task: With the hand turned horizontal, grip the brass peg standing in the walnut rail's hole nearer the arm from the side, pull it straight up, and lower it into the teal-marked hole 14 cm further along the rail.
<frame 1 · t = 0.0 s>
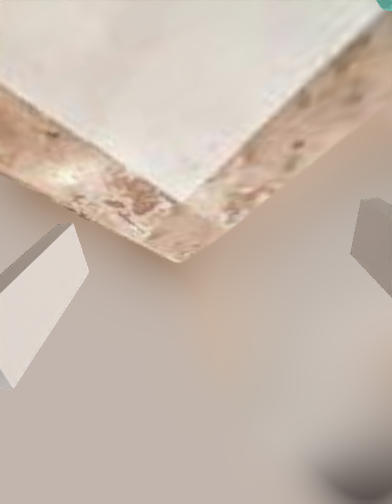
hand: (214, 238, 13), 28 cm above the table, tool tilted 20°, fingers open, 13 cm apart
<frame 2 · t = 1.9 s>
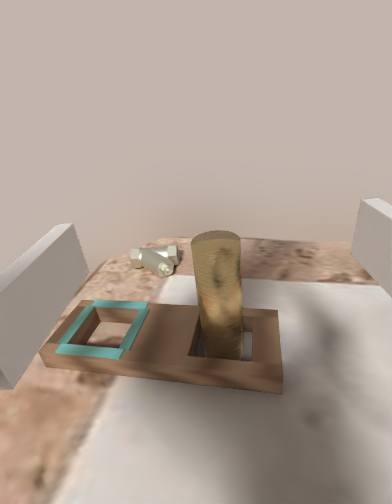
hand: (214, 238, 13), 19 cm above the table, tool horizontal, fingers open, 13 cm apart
pipe fitting: (156, 271, 49), on the table
walnut rail: (164, 345, 33), on the table
brass peg: (223, 350, 32), resting in walnut rail
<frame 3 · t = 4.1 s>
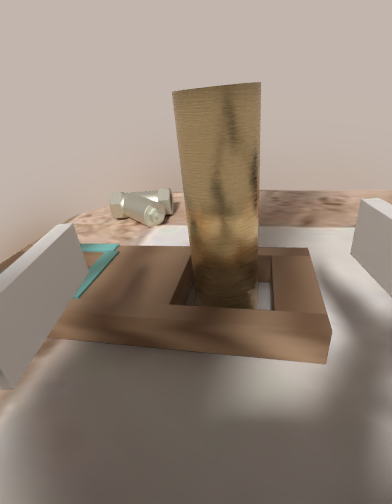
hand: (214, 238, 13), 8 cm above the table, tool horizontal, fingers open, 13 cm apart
pipe fitting: (143, 223, 38), on the table
walnut rail: (139, 300, 22), on the table
brass peg: (226, 305, 21), resting in walnut rail
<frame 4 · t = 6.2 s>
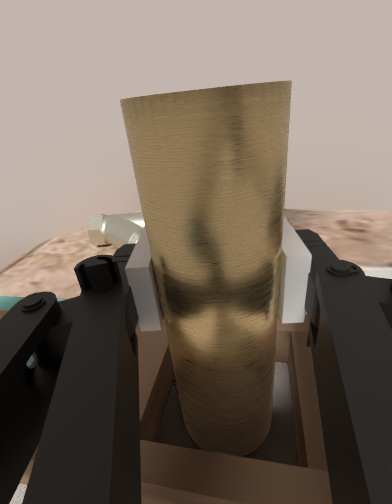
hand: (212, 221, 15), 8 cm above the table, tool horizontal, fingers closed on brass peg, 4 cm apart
pipe fitting: (129, 251, 31), on the table
walnut rail: (101, 392, 16), on the table
brass peg: (226, 409, 14), resting in walnut rail, touching gripper
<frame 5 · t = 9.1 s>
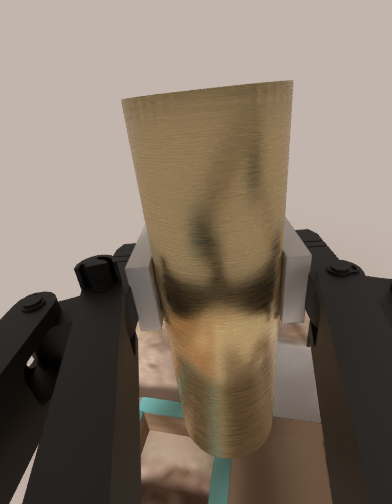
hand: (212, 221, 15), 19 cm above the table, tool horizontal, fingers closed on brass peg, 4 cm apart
walnut rail: (268, 499, 20), on the table
brass peg: (227, 409, 14), point 11 cm above the table, touching gripper
when the fingers open (9 cm above the table, at t = 12.0 s): brass peg drops 1 cm, resting in walnut rail.
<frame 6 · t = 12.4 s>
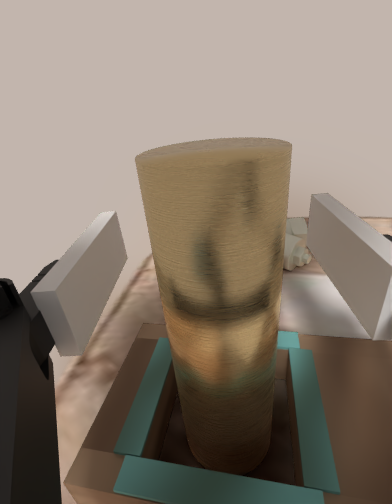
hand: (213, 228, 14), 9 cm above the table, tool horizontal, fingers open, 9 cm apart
pipe fitting: (267, 261, 30), on the table
walnut rail: (374, 447, 13), on the table
brass peg: (227, 426, 15), resting in walnut rail
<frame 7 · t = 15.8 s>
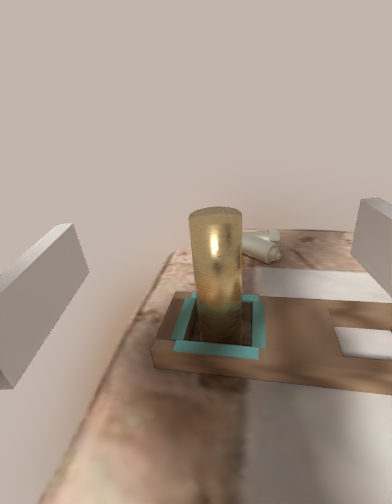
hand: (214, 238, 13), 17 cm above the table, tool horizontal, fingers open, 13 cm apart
pipe fitting: (254, 258, 45), on the table
walnut rail: (290, 344, 28), on the table
brass peg: (221, 339, 30), resting in walnut rail
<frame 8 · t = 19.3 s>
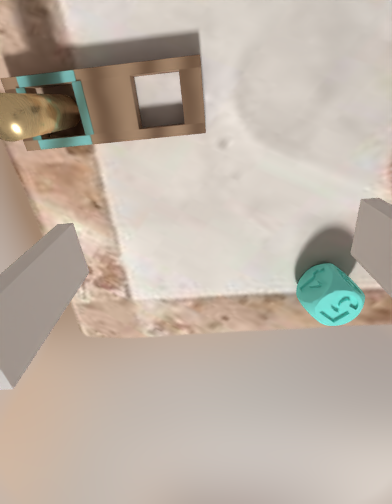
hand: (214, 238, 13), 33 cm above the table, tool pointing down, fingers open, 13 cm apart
walnut rail: (111, 106, 40), on the table
brass peg: (64, 111, 40), resting in walnut rail
decorative dice: (320, 280, 54), on the table
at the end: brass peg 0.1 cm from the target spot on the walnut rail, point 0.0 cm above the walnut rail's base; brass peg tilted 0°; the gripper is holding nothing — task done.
